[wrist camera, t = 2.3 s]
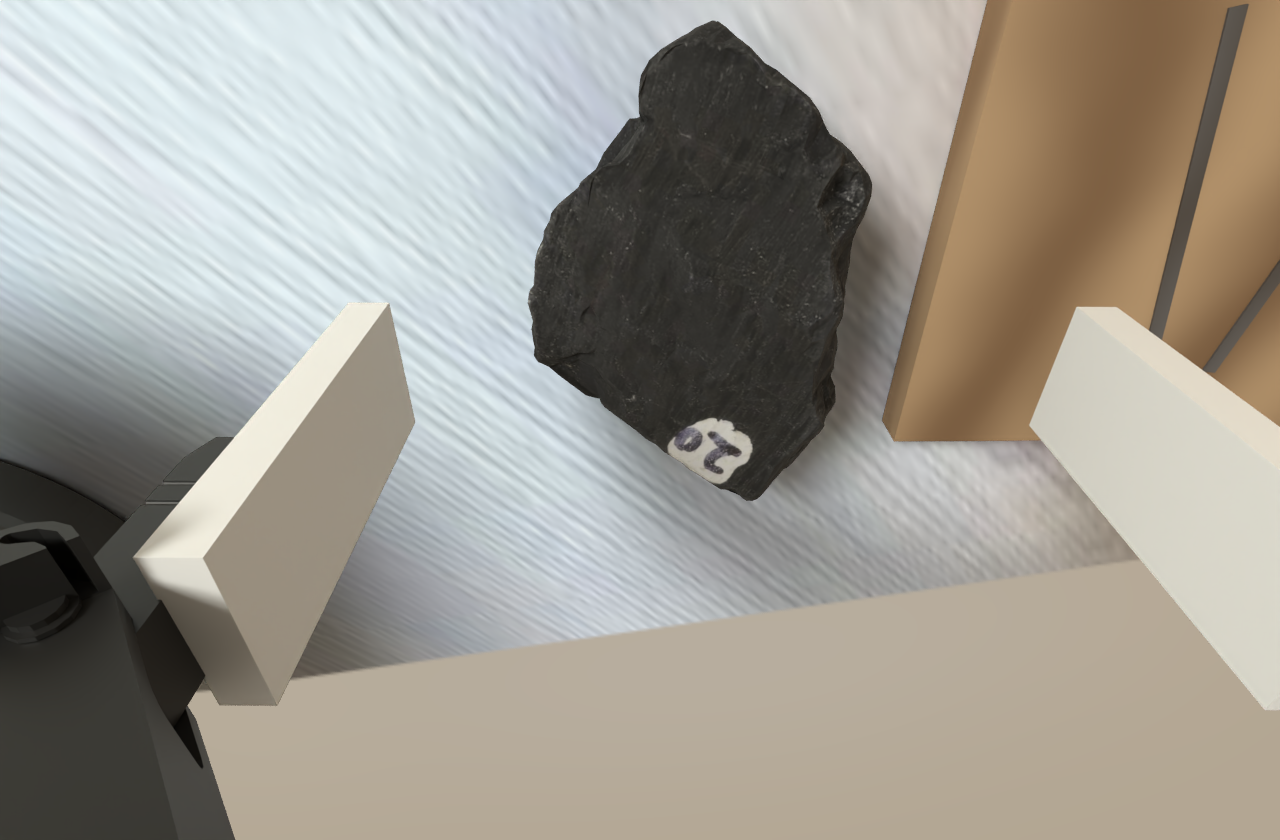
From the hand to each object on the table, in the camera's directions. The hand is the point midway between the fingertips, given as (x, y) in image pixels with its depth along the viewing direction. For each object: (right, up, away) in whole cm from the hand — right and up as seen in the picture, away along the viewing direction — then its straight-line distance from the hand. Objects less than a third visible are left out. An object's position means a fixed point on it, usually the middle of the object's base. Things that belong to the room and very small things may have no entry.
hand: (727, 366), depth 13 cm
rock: (0, +4, +6) cm, 7 cm away
